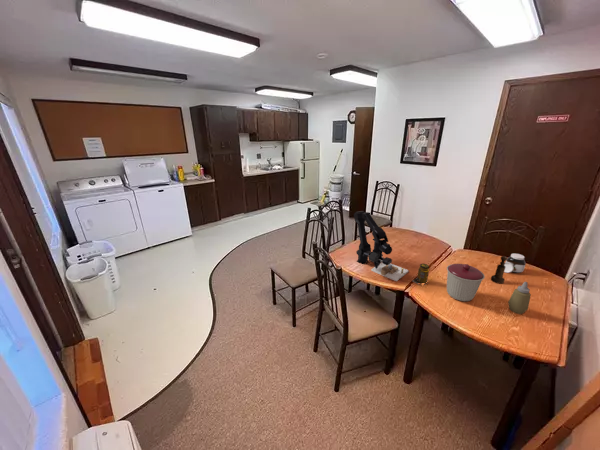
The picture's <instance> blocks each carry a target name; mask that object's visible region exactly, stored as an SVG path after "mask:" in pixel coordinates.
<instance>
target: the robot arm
mask: <svg viewBox="0 0 600 450" xmlns="http://www.w3.org/2000/svg"><path fill="white" fill-rule="evenodd" d="M353 218H354V222H356V224H357V228H358V236H359V242H360V243H359V245H358V249H357V250H356V253H355V254H356V255H357V256H358V257H357V260H356V262H357V263H359V264H362V265H366V264H367V263H368V262H369V261H370V262H372V263H373V265H374V267H375V268H376V269H377V268H378V266H379V264H380V263H381V262H382V263H383V264H385V265H389V264H392V263H393V259H392V258H391V257H388V256H386V257H383V256H384V254H385V255H390V254H392V252H393V247H392V246H391V244H389V243H388V242H389V238H388V236H387V233H386V231H385V230H384V229H383V228H382V227H380V226H379V225H378V224H377V222H376V221H375V219H374V218H373V217H372V214H371V212H368V211H364V210H360V211H355V212H354V213H353ZM365 222H366V224H367V225H368V228H370V230H371V235H372V236H373V239H372V241H373V243H374V244H373V249H372V247H371V244H370V243H369V242H368V238H367V231H366V225H365ZM383 253H384V254H383Z"/></svg>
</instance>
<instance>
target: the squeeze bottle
mask: <svg viewBox="0 0 600 450" xmlns="http://www.w3.org/2000/svg"><path fill="white" fill-rule="evenodd" d="M530 291H531V290H530V288H529V287H528V282H527V281H524V282H523V283H522V284H521V285H518V286H517V288H515V289H514V290H513V292H512V294H511V296H510V297H509V300H508V302H507V303H508V309H509V310H510V312H512V313H515V314H518V315H523V314H524V313H526V312H527V311H528V309H529V306H530V302H531V301H530V300H531V295H532V294H531V293H530Z"/></svg>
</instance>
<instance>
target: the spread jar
mask: <svg viewBox="0 0 600 450" xmlns="http://www.w3.org/2000/svg"><path fill="white" fill-rule="evenodd" d="M525 258H526V257H525V256H524V255H523V254H520V253H511V254H510V256H508V257H507V260H506V261H505V262H504V263H505V264H504V266H505V270H504V273H507V274H508V273H513V274H520V273H523V272H524V271H525V267H526V265H527V263H526V260H525Z"/></svg>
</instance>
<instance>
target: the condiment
mask: <svg viewBox="0 0 600 450" xmlns="http://www.w3.org/2000/svg"><path fill="white" fill-rule="evenodd" d="M429 269H430V265H428V264H426V263H420V264H419V267H418V269H417V276H416V278H415V279H412V280H411V281H412V282H413V283H414V284H417V285H419V284H418V283H426V282H427V281H428V277H429V273H430V270H429Z"/></svg>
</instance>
